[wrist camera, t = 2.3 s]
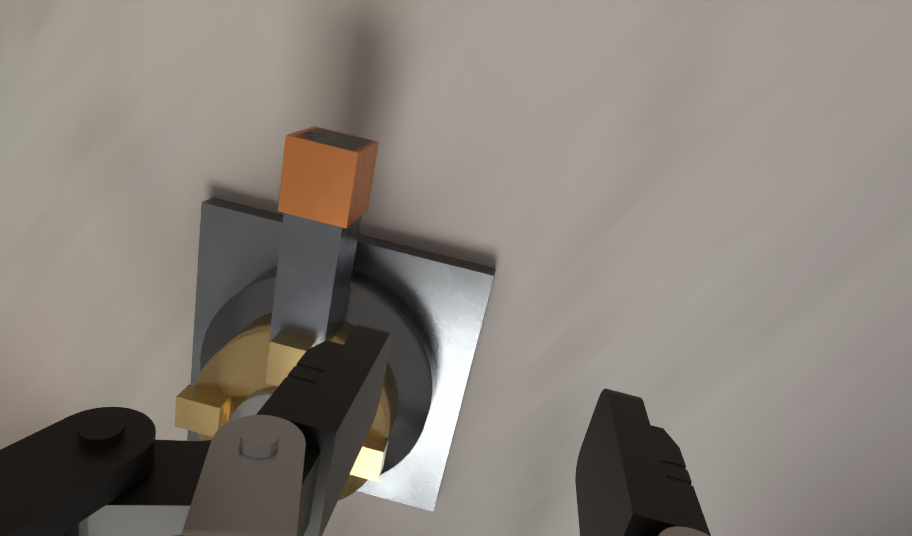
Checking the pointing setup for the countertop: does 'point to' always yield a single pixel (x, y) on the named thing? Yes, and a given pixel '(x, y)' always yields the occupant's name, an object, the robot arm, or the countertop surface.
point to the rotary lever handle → (302, 292)
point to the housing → (370, 304)
